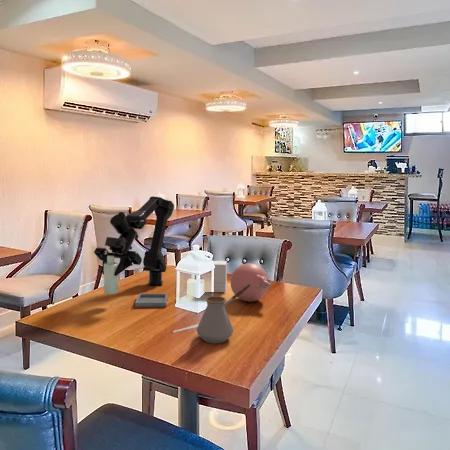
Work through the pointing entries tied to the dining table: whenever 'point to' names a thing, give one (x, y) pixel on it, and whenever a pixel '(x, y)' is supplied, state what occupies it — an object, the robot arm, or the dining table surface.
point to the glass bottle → (110, 276)
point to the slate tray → (151, 300)
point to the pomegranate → (250, 282)
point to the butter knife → (186, 328)
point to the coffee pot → (217, 319)
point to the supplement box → (220, 276)
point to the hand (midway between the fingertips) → (108, 274)
